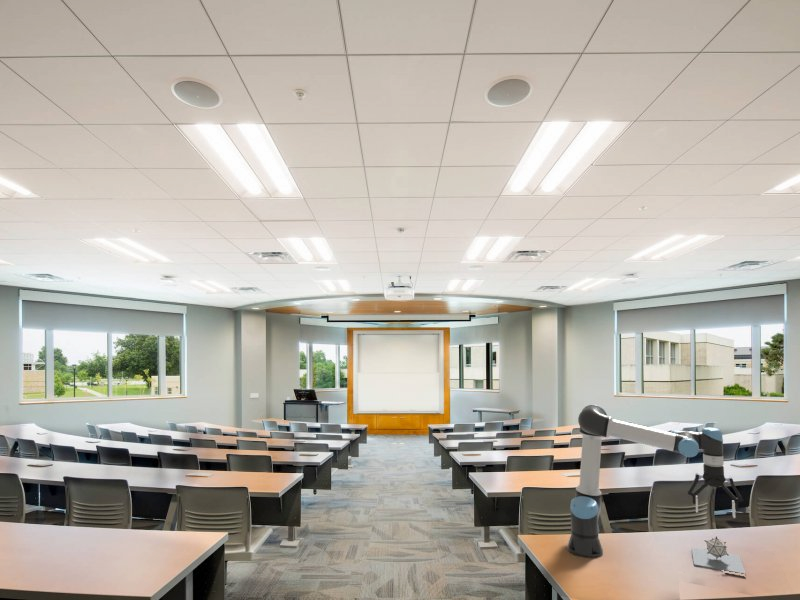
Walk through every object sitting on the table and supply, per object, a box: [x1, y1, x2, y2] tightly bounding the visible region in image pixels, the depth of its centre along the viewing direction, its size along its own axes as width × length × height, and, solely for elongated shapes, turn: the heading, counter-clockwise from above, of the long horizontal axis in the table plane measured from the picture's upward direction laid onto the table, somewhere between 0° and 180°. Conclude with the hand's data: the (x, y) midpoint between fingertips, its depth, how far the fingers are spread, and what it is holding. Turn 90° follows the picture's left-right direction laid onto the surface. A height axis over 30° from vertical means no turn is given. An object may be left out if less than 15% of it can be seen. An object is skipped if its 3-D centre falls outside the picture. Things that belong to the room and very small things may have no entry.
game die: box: [704, 535, 729, 559], centre depth 215 cm, size 9×8×10 cm
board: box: [691, 547, 746, 575], centre depth 215 cm, size 18×18×2 cm
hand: (715, 514), depth 216 cm, fingers open, 13 cm apart
